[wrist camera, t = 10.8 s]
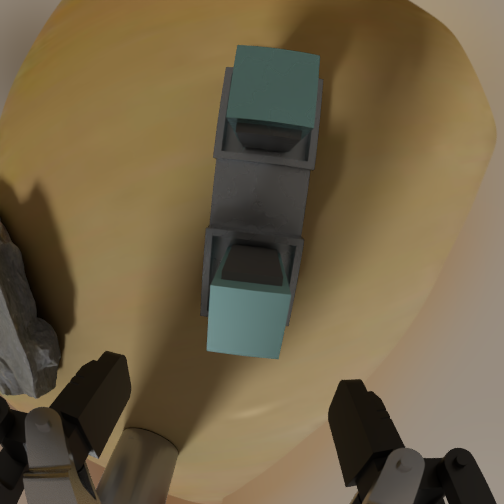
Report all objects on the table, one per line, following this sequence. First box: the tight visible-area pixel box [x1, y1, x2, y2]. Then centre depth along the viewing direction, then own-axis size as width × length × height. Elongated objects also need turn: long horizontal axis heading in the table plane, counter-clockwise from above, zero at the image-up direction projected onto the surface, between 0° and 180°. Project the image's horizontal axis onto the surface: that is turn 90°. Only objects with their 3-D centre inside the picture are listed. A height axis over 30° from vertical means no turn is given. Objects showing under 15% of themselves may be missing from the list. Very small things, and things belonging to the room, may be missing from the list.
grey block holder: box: [200, 45, 323, 326], centre depth 17 cm, size 20×7×10 cm, turn 173°
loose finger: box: [207, 244, 291, 359], centre depth 18 cm, size 4×4×8 cm
